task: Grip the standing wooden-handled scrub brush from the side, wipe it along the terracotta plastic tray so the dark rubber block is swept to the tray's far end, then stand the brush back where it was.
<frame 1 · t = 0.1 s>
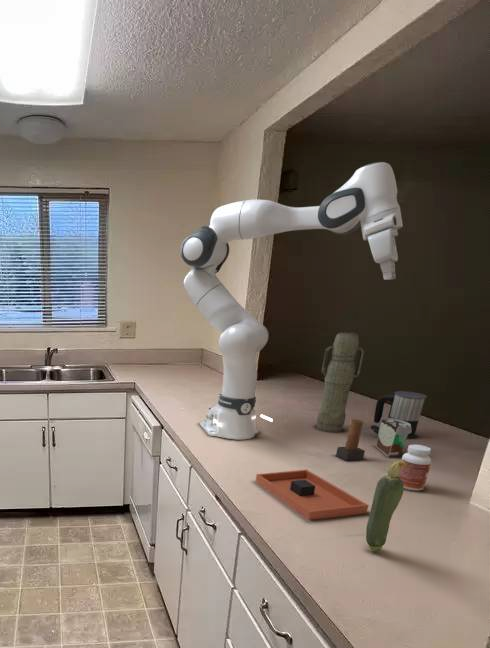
hand: (390, 279, 118), 52 cm above the countertop, tool tilted 20°, fingers open, 8 cm apart
tray: (306, 497, 110), on the countertop
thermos: (328, 429, 162), on the countertop
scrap: (301, 492, 111), resting on tray
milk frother: (391, 436, 154), on the countertop
food container: (392, 453, 139), on the countertop
vegetable: (373, 549, 88), on the countertop
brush: (349, 457, 135), on the countertop
pill bottle: (408, 487, 115), on the countertop
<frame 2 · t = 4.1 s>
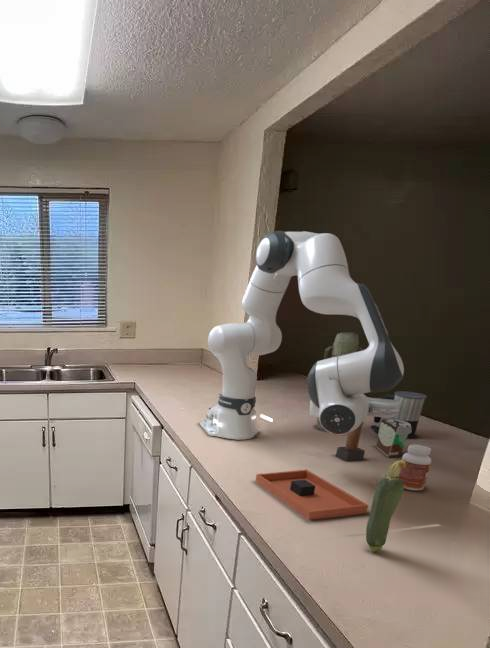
hand: (356, 399, 119), 21 cm above the countertop, tool horizontal, fingers open, 8 cm apart
nothing on the countertop moved.
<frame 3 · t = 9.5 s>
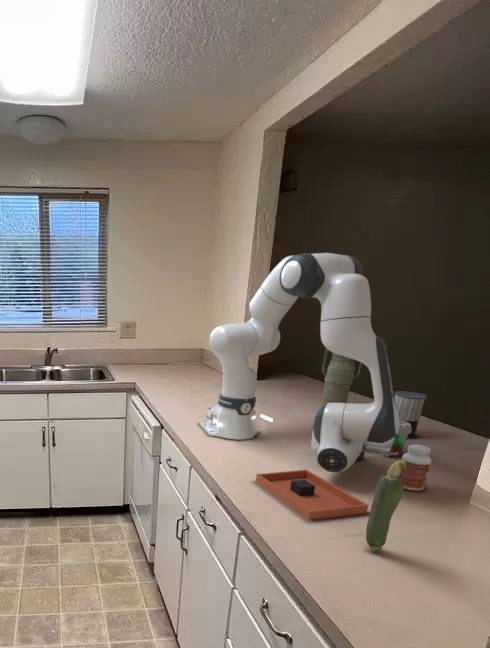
hand: (354, 432, 133), 8 cm above the countertop, tool horizontal, fingers closed on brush, 3 cm apart
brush: (349, 457, 135), on the countertop, touching gripper
everything else where it was.
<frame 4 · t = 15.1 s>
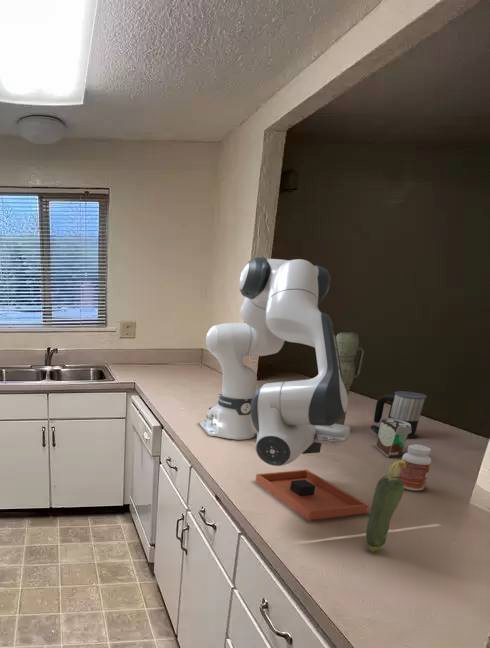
hand: (310, 420, 113), 17 cm above the countertop, tool horizontal, fingers closed on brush, 3 cm apart
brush: (304, 450, 115), point 9 cm above the countertop, touching gripper
everything else where it was.
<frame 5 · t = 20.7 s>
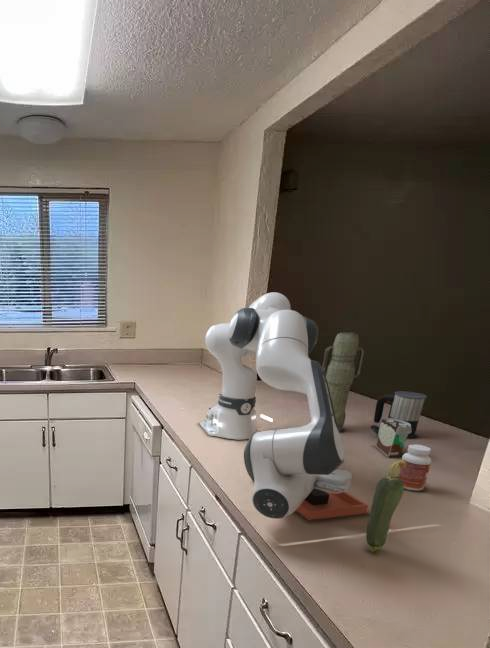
hand: (309, 462, 108), 9 cm above the countertop, tool horizontal, fingers closed on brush, 3 cm apart
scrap: (314, 500, 107), point 1 cm above the countertop, touching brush
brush: (303, 492, 110), point 1 cm above the countertop, touching gripper, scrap
everything else where it was.
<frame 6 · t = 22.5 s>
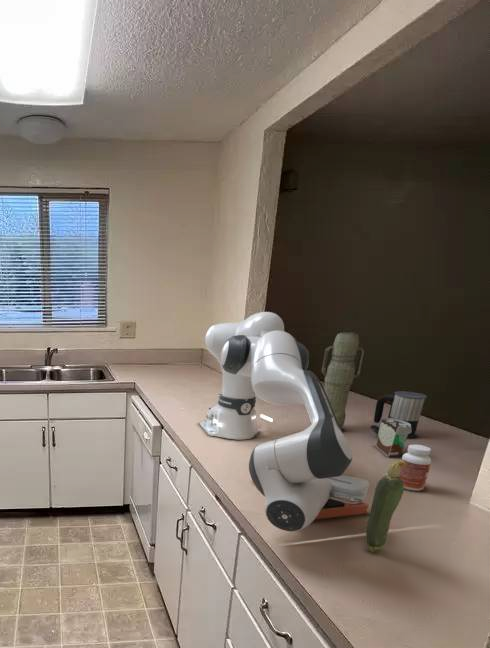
hand: (323, 469, 104), 9 cm above the countertop, tool horizontal, fingers closed on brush, 3 cm apart
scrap: (329, 510, 102), resting on tray
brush: (316, 501, 106), point 1 cm above the countertop, touching gripper
everything else where it was.
when the fingers open (8 cm above the countertop, at t = 32.1 s): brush stays where it is, on the countertop.
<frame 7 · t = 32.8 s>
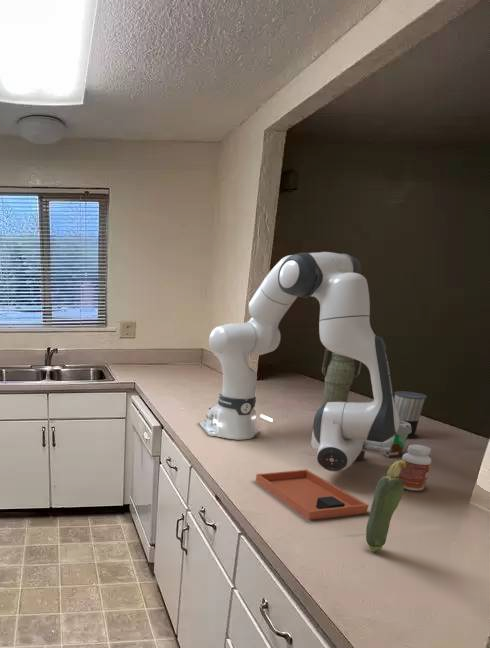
hand: (355, 431, 133), 8 cm above the countertop, tool horizontal, fingers open, 8 cm apart
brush: (349, 457, 135), on the countertop
everything else where it was.
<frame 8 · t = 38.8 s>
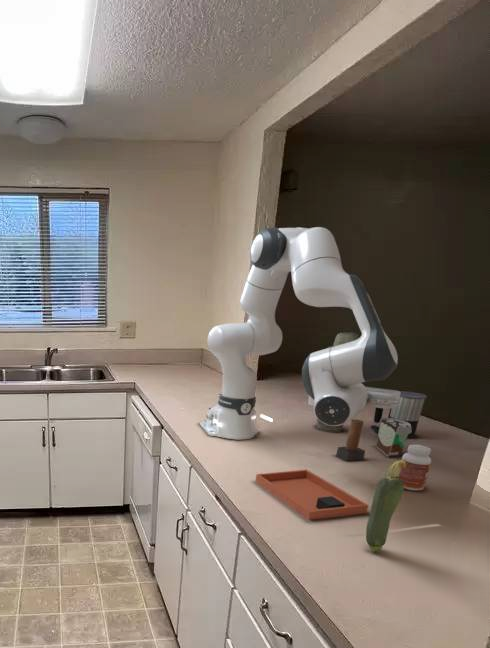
hand: (357, 388, 118), 24 cm above the countertop, tool horizontal, fingers open, 8 cm apart
nothing on the countertop moved.
at the end: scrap inside the target area in the tray (0.8 cm from its centre), point 0.5 cm above the tray's base; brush tilted 0°; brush inside the target area (0.1 cm from its centre), on the countertop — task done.
